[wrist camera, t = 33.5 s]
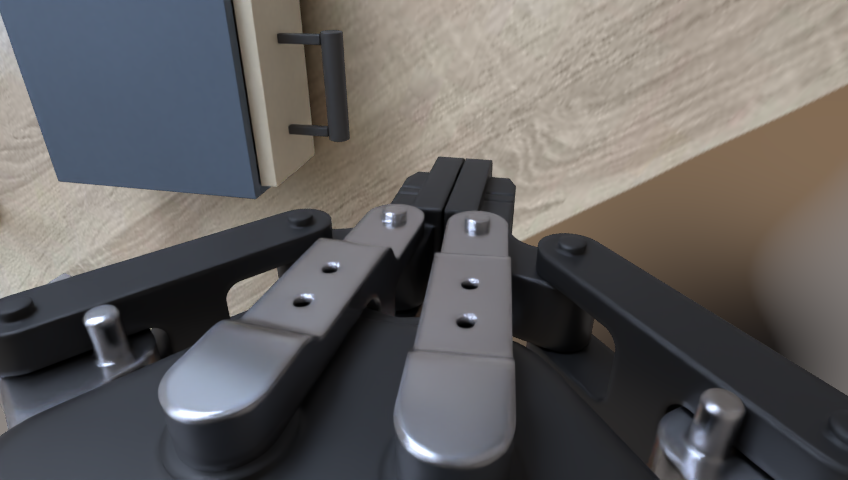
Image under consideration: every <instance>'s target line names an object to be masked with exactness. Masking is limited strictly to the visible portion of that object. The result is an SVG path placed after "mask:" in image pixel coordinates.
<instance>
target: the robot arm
mask: <svg viewBox="0 0 848 480" xmlns="http://www.w3.org/2000/svg"><path fill="white" fill-rule="evenodd" d="M515 191H516V186H515V185H514V184H513V182H512V181H511V180H510V179H508V178H495V177H492V160H481V159H467V158H466V160H465V159H464V158H452V157H438V158H437V160H436V162H435V164H434V165H433V167H432V169H431V171H430V173H429V172H417V173H415V174H413V175H412V176H410V177H408V178H407V179H406V180H405V182H404V184H403V185H402V187H401V188H400V190H399V191H398V193H397V195H396V196H395V198H394V199H393V201H392V202H391V204H387V205H382V206H378V207H375V208H373V209H371V210H370V211H368V212H367V213H366V215H365V216H364V217H363V218H362V219H361V220H360V221H359V222H358V223H357V225H356V226H355V227H354V228H346V229H332V222H331V217H330V215H329V214H327V213H326V212H323V211H321V210H316V209H297V210H291V211H287V212H284V213H281V214H277V215H274V216H271V217H267V218H264V219H261V220H257V221H254V222H251V223H248V224H244V225H241V226H238V227H234V228H231V229H228V230H224V231H221V232H218V233H215V234H211V235H208V236H205V237H201V238H198V239H195V240H191V241H188V242H185V243H182V244H178V245H175V246H172V247H168V248H165V249H162V250H158V251H155V252H152V253H149V254H145V255H142V256H139V257H135V258H132V259H129V260H125V261H122V262H119V263H115V264H112V265H109V266H106V267H102V268H99V269H96V270H92V271H89V272H86V273H82V274H79V275H76V276H73V277H69V278H66V279H63V280H59V281H56V282H53V283H49V284H46V285H43V286H40V287H36V288H33V289H30V290H26V291H23V292H20V293H16V294H13V295H10V296H7V297H4V298H1V299H0V405H1V407H2V409H3V411H4V413H5V416H6V421H7V426H8V431H7V432H5V433H4V434H2V435H1V436H0V480H848V396H847V395H845V394H844V393H842V392H840V391H839V390H837V389H835V388H834V387H832V386H830V385H829V384H827V383H826V382H824V381H823V380H821V379H819V378H818V377H816V376H814V375H813V374H811V373H810V372H808V371H806V370H805V369H803V368H801V367H800V366H798V365H797V364H795V363H793V362H792V361H790V360H788V359H787V358H785V357H783V356H782V355H780V354H779V353H777V352H775V351H774V350H772V349H771V348H769V347H767V346H765V345H764V344H762V343H761V342H759V341H758V340H756V339H754V338H753V337H751V336H749V335H748V334H746V333H745V332H743V331H741V330H740V329H738V328H736V327H735V326H733V325H732V324H730V323H728V322H727V321H725V320H723V319H722V318H720V317H719V316H717V315H715V314H714V313H712V312H710V311H709V310H707V309H706V308H704V307H702V306H701V305H699V304H698V303H696V302H694V301H693V300H691V299H689V298H688V297H686V296H684V295H683V294H681V293H680V292H678V291H676V290H675V289H673V288H671V287H670V286H668V285H667V284H665V283H663V282H662V281H660V280H659V279H657V278H655V277H654V276H652V275H650V274H649V273H647V272H645V271H644V270H642V269H641V268H639V267H637V266H636V265H634V264H633V263H631V262H629V261H628V260H626V259H624V258H623V257H621V256H620V255H618V254H616V253H615V252H613V251H611V250H610V249H608V248H607V247H605V246H603V245H602V244H600V243H599V242H597V241H595V240H593V239H591V238H588V237H585V236H581V235H577V234H569V233H559V234H552V235H549V236H546V237H544V238H542V239H541V240H540V241H539V243H538V247H535V246H531V245H528V244H526V243H523V242H521V241H519V240H518V239H516V238H515V237H514V236H513V235H512V225H513V214H514V202H515ZM275 268H277V270H278V277H279V279H278V280H277V281H276V282H275V283H274V284H273V285H272V287H271V288H270V289H269V290H268V291H267V292H266V293H265V294H264V295H263V296H262V297H261V298H260V299H259V300H258V301H257V302H256V303H255V304H254V305H253V306H252V307H251V308H250V309H249V310H247V311H245V312H242V313H240V314H237V315H235V316H232V317H230V316H229V311H228V306H227V301H226V297H227V293H228V291H229V290H230V288H231V287H232V286H233V285H234V284H236V283H237V282H239V281H242V280H244V279H247V278H250V277H253V276H255V275H258V274H261V273H264V272H266V271H269V270H272V269H275ZM594 319H596V320H597V321H598V322H600V323H601V324H602V325H603V326H604V327H606V328H607V330H608V331H609V332H610V334H611V335H612V337H613V340H614V343H615V353H614V352H613V351H612V350H611V349H610V348H608V347H607V346H606V345H605V344H604V343H602V342H601V341H600V340H599V339H597V338H596V337H595V336H594V335H593V334H591V333H592V328H593V323H594ZM149 328H152V331H151V330H150V329H149ZM512 336H513V337H516V338H519V339H521V340H524V341H527V345H526V347H525V346H523V345H521V344H519V343H517V342H514V341H512Z"/></svg>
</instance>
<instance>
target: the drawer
mask: <svg viewBox="0 0 848 480" xmlns="http://www.w3.org/2000/svg"><path fill="white" fill-rule="evenodd" d="M231 5H232V11H233V18H234V24H235V30H236V37H237V43H238V50H239V56H240V62H241V69H242V75H243V82H244V88H245V94H246V101H247V107H248V114H249V120H250V126H251V133H252V139H253V146H254V152H255V158H256V164H257V163H258V167H259V173H260V180H261V185H262V186H271V187H278V186H279V185H280V184H281V183H282V182H284V181H285V180H286V179H287V178H288V177H289V176H291V175H292V174H293V173H294V172H295V171H296V170H298V169H299V168H300V167H301V166H302V165H303V164H305V163H306V162H307V161H308V160H309V159H310V158H312V157H313V156H314V155H315V151H314V141H313V136H326V137H328V136H329V139H330V140H331V141H334V142H343V141H347V140H349V138H350V135H349V120H348V106H347V91H346V76H345V62H344V47H343V32H342V31H339V30H325V31H321V32H320V34H307V33H303V32H302V22H301V12H300V3H299V0H231ZM304 44H307V45H321V49H322V61H323V73H324V84H325V96H326V107H327V119H328V126H317V125H312V121H311V111H310V101H309V92H308V82H307V72H306V62H305V52H304Z"/></svg>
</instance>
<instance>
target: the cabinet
mask: <svg viewBox="0 0 848 480" xmlns="http://www.w3.org/2000/svg"><path fill="white" fill-rule="evenodd" d="M0 13H1V16H2V19H3V22H4V25H5V27H6V30H7V33H8V36H9V39H10V42H11V45H12V48H13V51H14V54H15V56H16V59H17V62H18V65H19V68H20V71H21V74H22V77H23V80H24V83H25V85H26V88H27V91H28V94H29V97H30V100H31V103H32V106H33V109H34V112H35V114H36V117H37V120H38V123H39V126H40V129H41V132H42V135H43V138H44V140H45V143H46V146H47V149H48V152H49V155H50V158H51V161H52V164H53V167H54V169H55V172H56V175H57V178H58V181H60V182H72V183H83V184H94V185H105V186H116V187H127V188H138V189H150V190H161V191H172V192H183V193H194V194H205V195H216V196H228V197H239V198H250V199H257V198H258V197H259V196H260V195H261V194H263V193H264V192H265V191H266V190H267V189H269V188H270V187H271V186H262V185H261V180H260V173H259V167H258V163H257V164H256V158H255V152H254V146H253V139H252V133H251V126H250V120H249V114H248V107H247V101H246V94H245V88H244V82H243V75H242V69H241V62H240V56H239V50H238V43H237V37H236V30H235V24H234V18H233V11H232V5H231V0H0Z"/></svg>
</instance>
